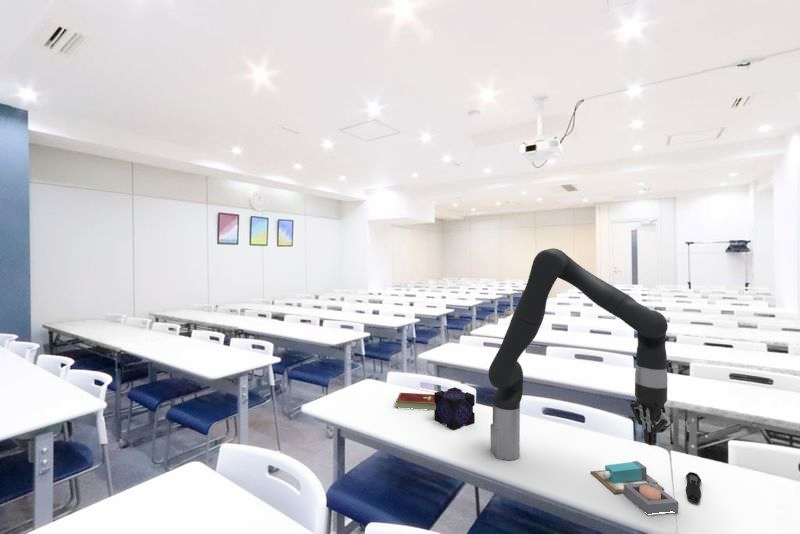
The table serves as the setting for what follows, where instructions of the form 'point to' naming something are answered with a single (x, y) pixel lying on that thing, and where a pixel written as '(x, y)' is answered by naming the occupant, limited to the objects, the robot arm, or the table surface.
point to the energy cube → (454, 408)
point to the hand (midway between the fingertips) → (649, 443)
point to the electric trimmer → (693, 487)
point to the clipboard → (619, 487)
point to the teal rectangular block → (625, 472)
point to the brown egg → (650, 492)
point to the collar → (653, 505)
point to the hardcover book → (416, 401)
